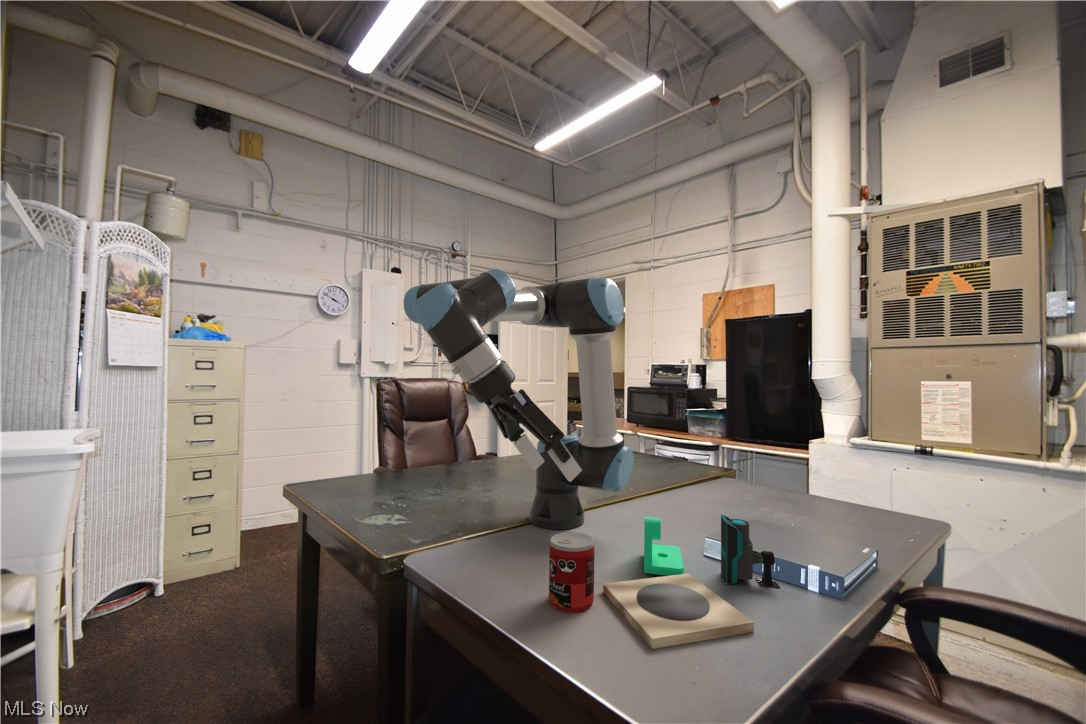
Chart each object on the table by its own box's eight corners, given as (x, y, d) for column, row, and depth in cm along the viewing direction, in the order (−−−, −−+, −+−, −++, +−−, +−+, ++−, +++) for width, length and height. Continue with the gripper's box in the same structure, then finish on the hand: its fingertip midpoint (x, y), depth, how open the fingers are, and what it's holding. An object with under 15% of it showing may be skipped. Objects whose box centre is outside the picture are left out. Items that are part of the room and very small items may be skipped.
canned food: (542, 596, 82) (542, 535, 82) (580, 588, 85) (581, 529, 86) (560, 617, 75) (561, 550, 75) (601, 608, 78) (602, 544, 78)
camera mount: (684, 582, 89) (684, 529, 89) (644, 578, 90) (644, 526, 91) (679, 558, 100) (679, 511, 101) (644, 554, 102) (644, 509, 102)
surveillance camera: (781, 526, 86) (725, 522, 88) (781, 591, 86) (725, 585, 88) (772, 517, 91) (720, 513, 93) (773, 577, 91) (720, 572, 93)
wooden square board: (603, 591, 84) (603, 582, 84) (687, 581, 89) (687, 571, 89) (652, 649, 67) (652, 636, 67) (753, 631, 72) (753, 620, 72)
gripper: (447, 388, 84) (512, 475, 88) (492, 381, 61) (577, 498, 65) (478, 364, 87) (540, 449, 91) (532, 349, 64) (610, 464, 68)
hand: (555, 470), depth 78 cm, fingers open, 13 cm apart
